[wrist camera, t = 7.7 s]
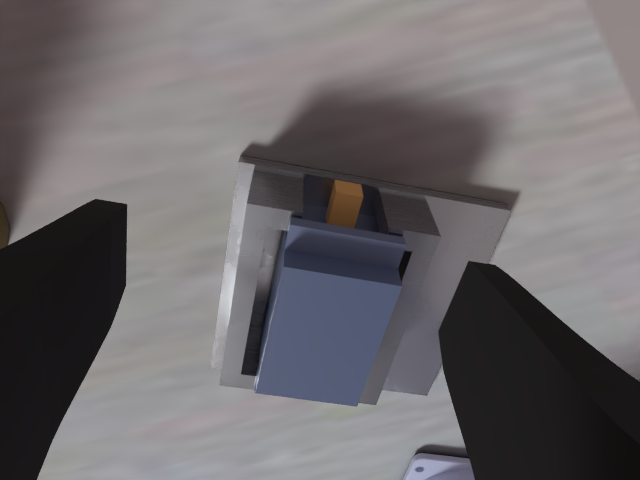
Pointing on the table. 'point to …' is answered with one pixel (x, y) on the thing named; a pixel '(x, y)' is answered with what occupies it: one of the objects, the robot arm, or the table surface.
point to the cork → (3, 228)
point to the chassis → (392, 218)
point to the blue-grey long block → (328, 302)
